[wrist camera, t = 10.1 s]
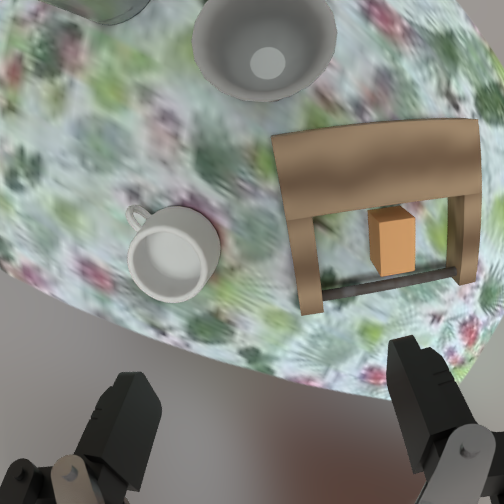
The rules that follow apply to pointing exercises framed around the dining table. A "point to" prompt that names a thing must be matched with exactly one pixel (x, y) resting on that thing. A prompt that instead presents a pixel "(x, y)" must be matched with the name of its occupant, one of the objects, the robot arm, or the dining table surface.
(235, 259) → the dining table surface
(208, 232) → the mug
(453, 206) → the shelf
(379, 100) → the dining table surface
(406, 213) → the tall cardboard carton
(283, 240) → the dining table surface
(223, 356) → the dining table surface
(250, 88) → the chalice
